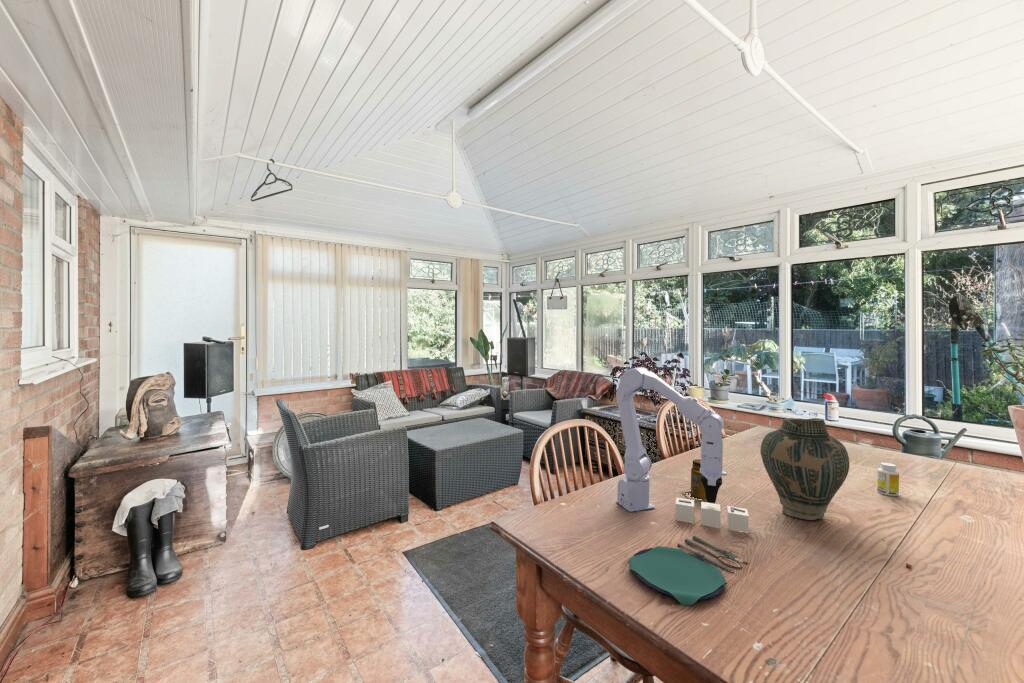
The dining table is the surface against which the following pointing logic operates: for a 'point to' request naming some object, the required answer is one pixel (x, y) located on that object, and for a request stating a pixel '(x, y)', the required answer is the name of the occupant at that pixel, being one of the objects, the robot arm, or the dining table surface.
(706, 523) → the plain block
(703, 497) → the condiment
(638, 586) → the dining table surface
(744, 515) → the digit seven block
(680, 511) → the digit one block
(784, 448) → the vase
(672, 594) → the cutlery set
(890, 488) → the supplement bottle
